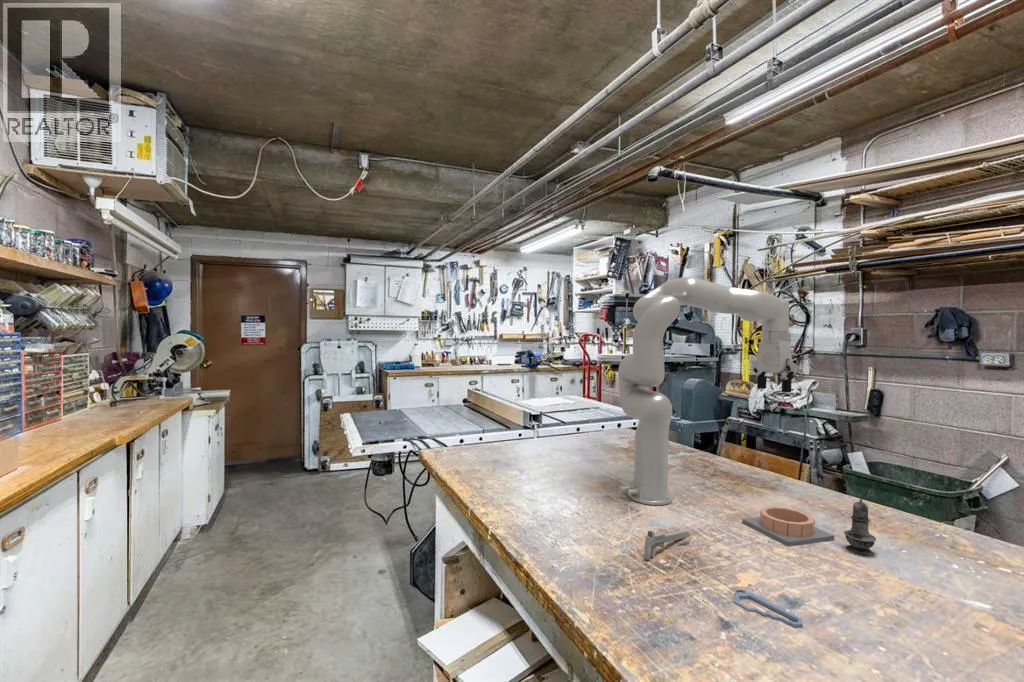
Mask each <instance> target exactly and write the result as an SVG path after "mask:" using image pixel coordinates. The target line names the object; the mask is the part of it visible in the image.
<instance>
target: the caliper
mask: <svg viewBox="0 0 1024 682" xmlns="http://www.w3.org/2000/svg"><path fill="white" fill-rule="evenodd" d="M691 535H692V533H691V532H690V531H689V530H686V529H683V530H679V531H678V530H677V531H674V532H670V533H669V532H668V533H663V532H660V533H656V531H655V530H652V529H651V530H647V535H646V536H645V539H644V540H645V542H644V547H643V548H644V551H643V554H644V555H643V558H644V559H643V560H645V561H647V562H650V560H654V559H655V554H656V551H657V547H659V548H662V547H663V548H664V547H665V543H670V542H674V541H678V540H682V539H683V540H684V539H686V538H687V537H689V536H691Z"/></svg>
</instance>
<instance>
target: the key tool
mask: <svg viewBox="0 0 1024 682" xmlns="http://www.w3.org/2000/svg"><path fill="white" fill-rule="evenodd" d="M746 599H750V600H752V601H755V602H756V603H758V604H760V605H762V606H763V607H764V606H765V607H766V608H768V609H769V610H772V611H773V612H776V613H777V614H780V615H782V616H784V617H781V616H779V615H777V614H772V613H770V612H768V611H762V610H760V609H758V608H756V607H748V606H746V605H745V604H743V603H741V602H740V600H746ZM733 603H734V604H735V605H737V606H738V607H740V608H742V609H743V610H746V611H747V612H755V613H757V614H759V615H761V616H763V617H769V618H770V619H772V620H774V621H780V622H782V623H784V624H786V625H788V626H791V627H793V628H803V619H802V618H801V617H800V616H798V615H795V614H793V613H792V612H790V611H787V610H786V609H785V608H783V607H780V606H779V605H777V604H774V603H772V602H770V601H768V600H766V599H764V598H763V597H761V596H758V595H757V594H755V593H753V592H750V591H749V592H747V591H746V590H745V589H742V588H741V589H740V588H737V589H735V590H734V601H733ZM785 617H786V618H787V619H786V618H785Z"/></svg>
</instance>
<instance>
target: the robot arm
mask: <svg viewBox="0 0 1024 682" xmlns="http://www.w3.org/2000/svg"><path fill="white" fill-rule="evenodd" d="M681 306H689V307H694V308H698V309H701V310H705V311H709V312H713V313H716V314H729V315H730V314H732V315H733V314H735V315H736V314H737V316H738V317H739V318H740V319H742V320H743V321H747V322H761V323H762V324H761V334H760V337H761V341H759V343H758V348H757V354H756V360H755V361H753V362H752V363H751V366H752V369H753V371H754V373H755V377H757V381H756V388H757V389H758V390H760V389H762V390H763V389H767V376H766V375H767V374H768V373H772V374H773V373H774V374H780V375H781V377H782V378H783V379H782V380H781V392H782V393H792V380H794V378H795V377H796V375H797V373H798V372H799V370H800V366H799V365H798V364H796V363H795V362H793V358H792V349H791V343H790V341H789V334H790V332H789V331H790V302H789V300H787V299H785V298H780V297H778V296H776V295H774V294H770V293H768V292H763V291H760V290H755V289H754V290H753V289H746V288H740V287H734V286H726V285H723V284H719V283H716V282H712V281H708V280H705V279H702V278H698V277H692V276H685V277H684V276H683V277H678V278H673V279H669V280H667V281H665V282H663V283H661V284H660V285H659V286H657V287H656V288H654V289H653V290H650V292H648V293H646V294H645V295H643V296H642V297H640V298H639V299H637V300H636V302H635V304H634V306H633V308H632V316H633V317H634V319H635V321H637V324H636V325H635V327H634V331H633V334H632V335H633V336H632V353H629V354H628V355H626V356H624V357H623V358H622V359H621V361H620V363H619V366H618V371H617V372H618V373H617V374H618V375H617V376H618V377H617V378H618V389H619V399H620V400H619V401H620V405H621V406H620V407H621V409H622V411H623V413H624V414H625V415H626V416H628V417H629V418H631V419H634V420H637V421H638V425H637V427H636V429H635V433H634V459H633V460H634V461H633V463H634V464H633V465H634V466H633V480H630V483H629V484H628V485H619V486H618V492H619V493H620V494H623V493H627V496H628V497H629V499H630V500H632V501H634V502H637V503H640V504H643V505H651V506H663V505H664V506H666V505H669V504H671V503H672V502H673V499H674V498H673V497H674V496H673V495H672V494H671V493H670V492H668V468H669V467H668V466H669V433H670V425H671V421H672V416H673V405H672V402H671V400H670V399H669V397H667V396H666V395H665V394H663V393H661V392H660V391H659V392H658V391H654V390H649V389H648V388H654V387H655V388H656V387H659V386H660V385H662V383H663V381H664V380H665V373H666V372H665V371H666V370H665V357H664V336H665V333H666V331H667V328H669V326H670V325H672V323H673V322H674V321H675V320H676V319H677V318H678V316H679V314H680V311H681Z"/></svg>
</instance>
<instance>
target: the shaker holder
mask: <svg viewBox="0 0 1024 682" xmlns="http://www.w3.org/2000/svg"><path fill="white" fill-rule="evenodd" d="M741 521H742V522H741V523H742V524H744V525H746V526H748V527H749V526H750V528H751V527H752V529H753V528H754V530H755V531H758V532H760V533H761V534H763V535H765V536H767V537H769V538H771V539H773V540H775V541H777V542H779V543H781V544H783V545H785V546H787V547H794V545H795V546H801V544H802V545H807V544H808V543H809V544H814V543H815V542H816V543H821V541H823V542H829V540H830V541H835V535H834V534H831V533H830V532H828V531H825V530H823V529H820V528H818V527H816V523H815V522H816V520H815V518H814V517H813V516H811V514H808V513H806V512H803V511H801V510H797V509H793V508H790V507H784V506H773V505H772V506H763V507H762V508H761V509H760V510H759V516H756V517H748V518H747V517H746V518H742V519H741ZM816 543H815V544H816ZM809 544H808V545H809Z"/></svg>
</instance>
